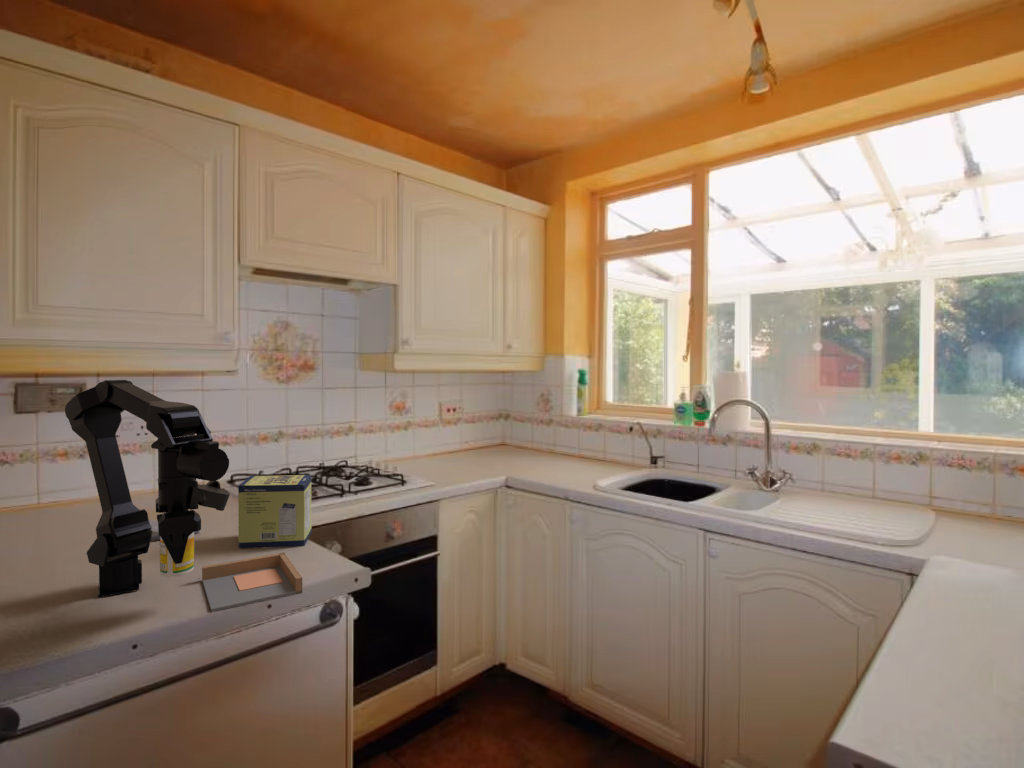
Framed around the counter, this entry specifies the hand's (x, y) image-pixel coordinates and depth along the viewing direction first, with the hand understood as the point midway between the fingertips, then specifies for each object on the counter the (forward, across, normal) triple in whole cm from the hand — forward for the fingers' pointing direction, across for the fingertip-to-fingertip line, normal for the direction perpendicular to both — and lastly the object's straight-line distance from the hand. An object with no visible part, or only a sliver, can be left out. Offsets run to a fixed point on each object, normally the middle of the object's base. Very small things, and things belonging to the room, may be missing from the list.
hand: (177, 558), depth 102 cm
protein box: (+10, +29, -23) cm, 38 cm away
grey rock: (+10, +47, -2) cm, 48 cm away
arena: (+9, +3, -13) cm, 16 cm away
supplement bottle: (+3, 0, 0) cm, 3 cm away
